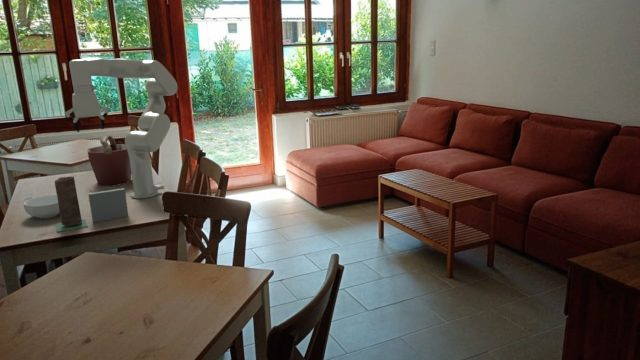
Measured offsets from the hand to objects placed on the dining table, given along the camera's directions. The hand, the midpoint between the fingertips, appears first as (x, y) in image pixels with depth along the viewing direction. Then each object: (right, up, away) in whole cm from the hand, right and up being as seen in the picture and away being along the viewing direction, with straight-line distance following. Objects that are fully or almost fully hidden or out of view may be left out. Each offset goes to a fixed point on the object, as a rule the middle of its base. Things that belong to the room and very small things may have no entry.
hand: (90, 130), depth 214 cm
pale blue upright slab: (+10, -38, -3) cm, 39 cm away
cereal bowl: (-20, -37, +4) cm, 42 cm away
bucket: (-14, -23, +56) cm, 62 cm away
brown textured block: (-3, -40, -10) cm, 41 cm away
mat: (-3, -40, -10) cm, 42 cm away
